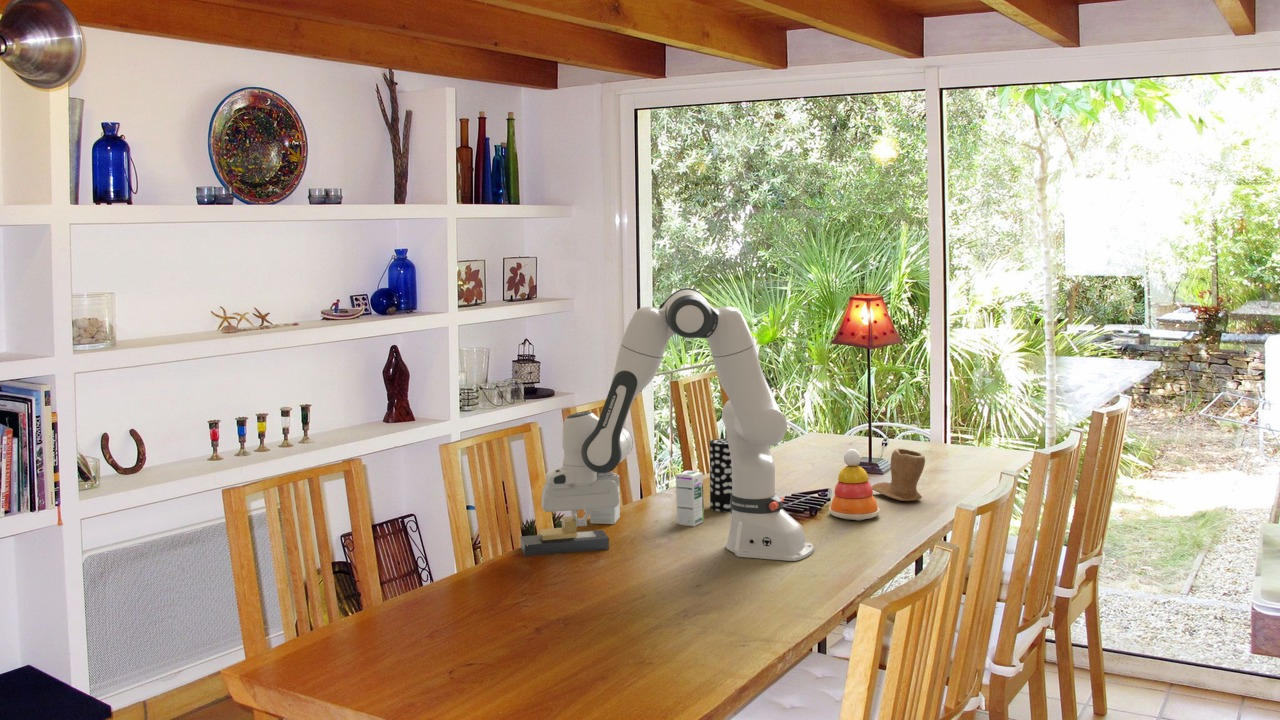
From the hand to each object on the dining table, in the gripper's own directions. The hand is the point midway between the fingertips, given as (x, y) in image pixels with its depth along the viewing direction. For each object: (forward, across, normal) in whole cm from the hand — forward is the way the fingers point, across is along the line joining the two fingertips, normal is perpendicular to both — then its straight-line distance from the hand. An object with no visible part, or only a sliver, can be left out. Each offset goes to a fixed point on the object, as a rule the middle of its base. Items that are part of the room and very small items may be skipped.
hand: (580, 525), depth 288 cm
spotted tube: (+6, -48, -27) cm, 55 cm away
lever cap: (+2, +6, 0) cm, 6 cm away
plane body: (+6, +4, 0) cm, 7 cm away
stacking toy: (+6, -81, -8) cm, 81 cm away
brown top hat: (+6, -103, -23) cm, 106 cm away
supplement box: (+6, -11, -24) cm, 27 cm away
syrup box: (+6, -34, -14) cm, 37 cm away
